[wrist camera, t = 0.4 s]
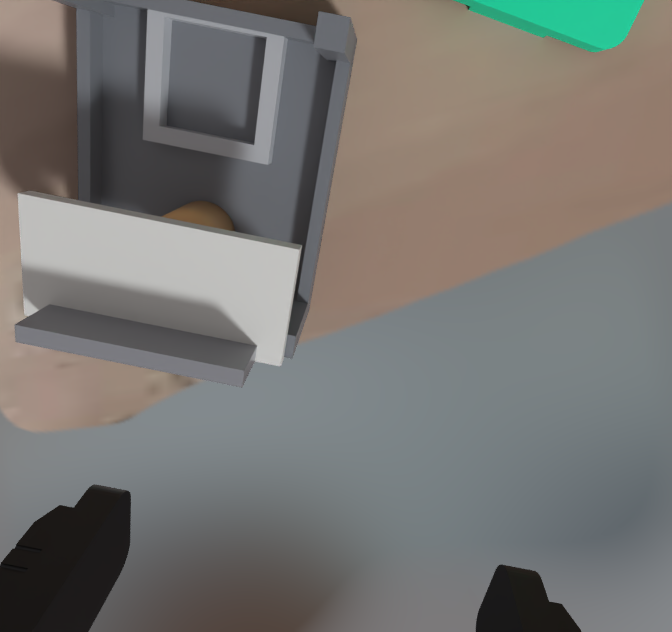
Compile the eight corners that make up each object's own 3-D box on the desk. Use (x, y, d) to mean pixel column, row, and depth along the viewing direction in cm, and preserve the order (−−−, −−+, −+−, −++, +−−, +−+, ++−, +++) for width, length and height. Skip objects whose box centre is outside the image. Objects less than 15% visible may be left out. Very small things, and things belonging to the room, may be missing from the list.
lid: (29, 190, 28) (-25, 202, 24) (302, 245, 28) (290, 265, 24) (35, 308, 30) (-13, 336, 27) (283, 358, 30) (270, 393, 26)
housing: (98, -12, 31) (10, -51, 24) (357, 39, 31) (350, 17, 24) (97, 267, 38) (29, 305, 30) (309, 310, 38) (292, 358, 30)
